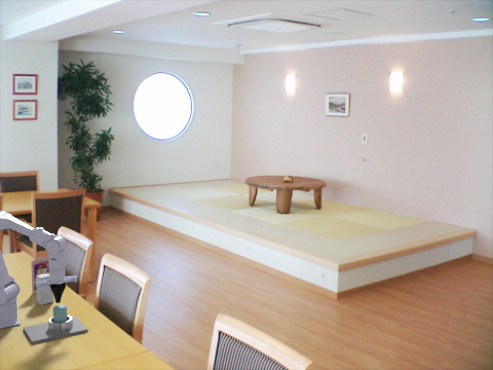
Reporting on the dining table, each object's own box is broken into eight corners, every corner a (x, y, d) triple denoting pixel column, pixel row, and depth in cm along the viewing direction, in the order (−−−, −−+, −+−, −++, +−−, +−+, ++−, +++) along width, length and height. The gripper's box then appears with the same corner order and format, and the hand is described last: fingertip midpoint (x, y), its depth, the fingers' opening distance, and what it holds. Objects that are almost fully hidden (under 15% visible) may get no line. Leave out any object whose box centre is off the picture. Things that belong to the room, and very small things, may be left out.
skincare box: (40, 305, 223) (39, 278, 222) (36, 302, 227) (35, 275, 225) (54, 301, 228) (53, 275, 226) (50, 298, 231) (49, 272, 229)
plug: (55, 330, 197) (55, 310, 196) (52, 326, 201) (51, 306, 200) (69, 328, 200) (68, 308, 199) (65, 323, 204) (64, 303, 203)
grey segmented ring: (52, 333, 195) (51, 325, 194) (46, 325, 202) (45, 317, 201) (75, 328, 200) (75, 320, 199) (68, 320, 207) (68, 313, 206)
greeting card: (33, 294, 235) (32, 262, 233) (24, 290, 240) (23, 258, 237) (56, 287, 244) (55, 256, 242) (47, 284, 249) (46, 253, 246)
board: (32, 344, 188) (32, 341, 188) (23, 329, 200) (23, 327, 200) (87, 331, 200) (87, 329, 200) (76, 318, 211) (76, 316, 211)
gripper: (39, 274, 191) (40, 309, 194) (79, 268, 200) (80, 302, 202) (35, 268, 197) (36, 303, 199) (73, 263, 205) (74, 296, 208)
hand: (57, 302), depth 201 cm, fingers closed
